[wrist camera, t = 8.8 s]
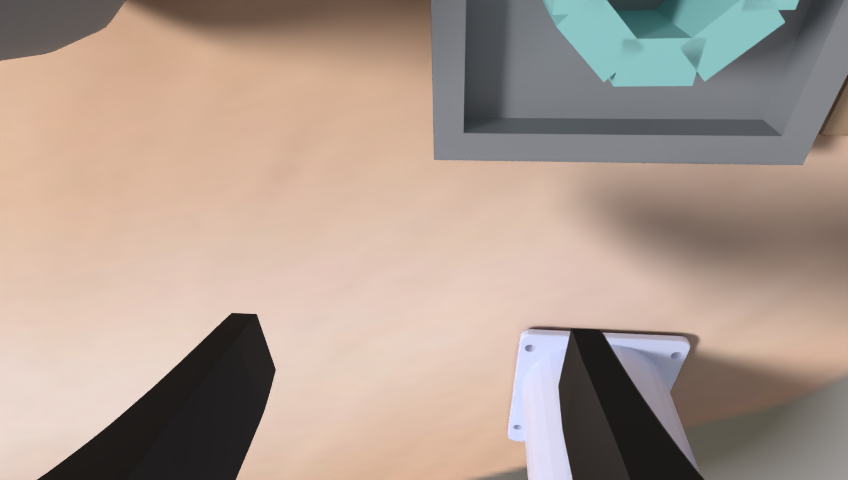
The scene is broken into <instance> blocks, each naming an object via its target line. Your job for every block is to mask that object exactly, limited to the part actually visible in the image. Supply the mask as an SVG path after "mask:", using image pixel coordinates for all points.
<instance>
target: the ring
mask: <svg viewBox="0 0 848 480" xmlns="http://www.w3.org/2000/svg"><path fill="white" fill-rule="evenodd" d="M542 1H543V2H544V4H545V6H546V8H547V10H548V12H549V14H550V16H551V18H552V20H553V22H554V23H555V25H556V27H557V28H558V29H559V30H560V32H561V33H562V34H563V35H564V36H565V38H566V39H567V40H568V41H569V42H570V43H571V45H572V46H573V47H574V48H575V49H576V50H577V52H578V53H579V54H580V55H581V56H582V57H583V59H584V60H585V61H586V62H587V63H588V65H589V66H590V67H591V68H592V69H593V70H594V72H595V73H596V74H597V75H598V76H599V77H600V79H601V80H602V81H603V82H605V81H606V80H607V79H609V80H610V82H611V83H612V85H613V86H614V87H619V86H693V82H694V79H695V76H696V74H697V75H698V76H699V77H700V78H701V79H702V80H703V81H706V80H708V79H709V78H710V77H712V76H713V75H714V74H716V73H717V72H718V71H720V70H721V69H723V68H724V67H725V66H727V65H728V64H729V63H731V62H732V61H733V60H735V59H736V58H737V57H739V56H740V55H742V54H743V53H744V52H746V51H747V50H748V49H750V48H751V47H752V46H754V45H755V44H757V43H758V42H759V41H761V40H762V39H763V38H765V37H766V36H767V35H769V34H770V33H771V32H773V31H774V30H776V29H777V28H778V27H780V26H781V25H782V24H784V23H785V21H784V19H783V18H782V16H781V14H780V13H779V11H778V10H795V9H796V7H797V4H798V2H799V0H665V1H664V2H663V3H662V4H661V5H660V6H658V7H657V8H656V9H655V10H617V11H615V10H614V9H613V7H612V6H611V5H610V4H609V2H608V1H607V0H542Z"/></svg>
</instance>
